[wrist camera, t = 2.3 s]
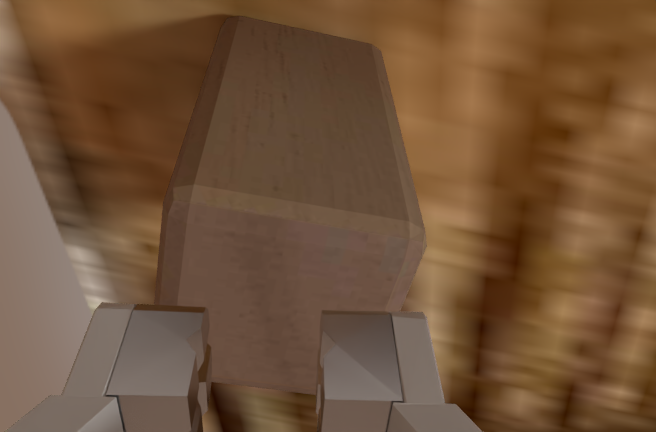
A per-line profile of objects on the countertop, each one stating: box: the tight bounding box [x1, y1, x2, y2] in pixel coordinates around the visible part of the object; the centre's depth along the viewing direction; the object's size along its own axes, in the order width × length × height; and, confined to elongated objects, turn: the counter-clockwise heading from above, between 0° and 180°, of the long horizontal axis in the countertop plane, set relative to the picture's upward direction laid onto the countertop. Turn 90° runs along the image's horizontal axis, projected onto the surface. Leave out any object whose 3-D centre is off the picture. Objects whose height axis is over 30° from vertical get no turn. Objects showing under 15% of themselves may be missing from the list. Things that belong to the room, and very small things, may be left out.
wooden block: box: [154, 16, 427, 395], centre depth 33 cm, size 10×10×20 cm
